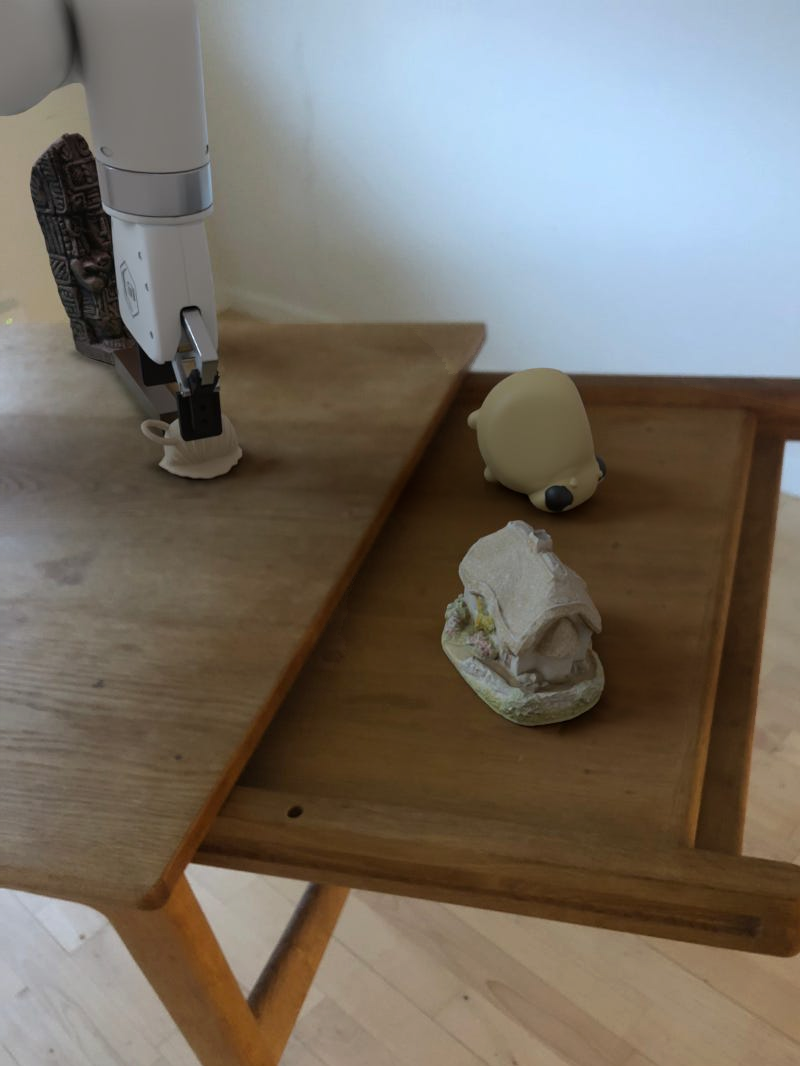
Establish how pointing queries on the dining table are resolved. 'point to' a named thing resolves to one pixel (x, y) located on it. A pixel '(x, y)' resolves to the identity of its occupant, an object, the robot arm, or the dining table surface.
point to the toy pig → (539, 439)
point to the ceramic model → (524, 629)
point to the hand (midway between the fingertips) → (181, 408)
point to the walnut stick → (145, 388)
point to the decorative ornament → (196, 450)
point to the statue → (80, 245)
